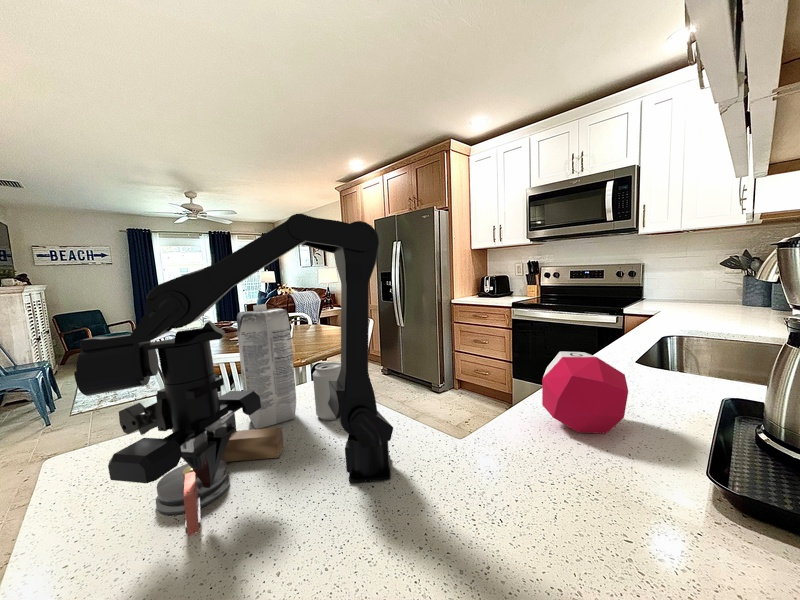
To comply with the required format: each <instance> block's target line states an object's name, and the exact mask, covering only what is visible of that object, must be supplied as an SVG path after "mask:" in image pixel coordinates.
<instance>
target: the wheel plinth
mask: <svg viewBox="0 0 800 600" xmlns="http://www.w3.org/2000/svg"><path fill="white" fill-rule="evenodd" d="M230 484H231V480H230V475H229V472H228V471H227V479H226V481H225V482H224V484H223V485H222V486H221V487H220V488H218V489H217V490H216V491H214V492H213V493H211V494H210V495H208V496H206V497H204V498H202V499H200V500H201V509H203V508H205V507H207V506H209V505H211V504H212V503H214V502H215V501H217V500H218V499H220V498H221V497H222V496H223V495H224V494H225V493H226V492H227V490H228V489H229V488H230ZM155 508H156V511H157V512H158V513H159V514H160V515H163V516H166V517H167V516H168V517H169V516H171V517H173V516H176V517H177V516H181V515H186V514H185V506H184V505H179V506H165V505H162V504H161V503H159V501H158V495H157V496H156V498H155Z"/></svg>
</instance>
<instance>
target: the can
mask: <svg viewBox="0 0 800 600" xmlns="http://www.w3.org/2000/svg"><path fill="white" fill-rule="evenodd" d="M314 369H315V370H314V371H313V373H312V381H313V392H314V403H315V404H314V405H315V414H316V416H317V417H319V419H321V420H323V421H334V420H337V419H336V417H335V415H334V414H333V412H332V410H331V408H330V407H329V405H328V402H329V399H330V389H329V381H337V379H338V376H339V374H340V370H341V361H340V362H339V361H329V362H324V363H319V364H317V365H316V366H315V367H314Z"/></svg>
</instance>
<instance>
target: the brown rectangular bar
mask: <svg viewBox="0 0 800 600" xmlns="http://www.w3.org/2000/svg"><path fill="white" fill-rule="evenodd" d="M283 434H284V433H283V426H280V427H279V426H277V427H269V428H268V427H265V428H261V429H256V428H255V429H254V428H253V429H244V430H236V431H234V432H233V433H232V434H231V436H230V438H229V441H228V443H227V446H226V448H225V451H224V453H223V455H222V459H223V461H224V462H225V463H229V462H240V461H249V460H250V461H253V460H260V459H262V460H264V459H274V458H279V456H280V455H281V453H282V452H283V449H284V448H285V443H284V435H283Z"/></svg>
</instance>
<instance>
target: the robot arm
mask: <svg viewBox="0 0 800 600" xmlns="http://www.w3.org/2000/svg"><path fill="white" fill-rule="evenodd" d="M379 245H380V238H379V234H378V231H377V230H375V228H374V227H373V226H372V225H371V224H369V223H368V222H365V221H363V220H362V221H361V220H360V221H359V220H358V221H357V220H356V221H353V222H350V223H348V222H345V221H341V220H334V219H327V218H320V217H314V216H310V215H308V214H304V213H295V214H292V215H291V216H289V217H288V219H286V221H283V222H282V223H281V224H279V225H277V226H275V227H274V228H272V229H270V230H269V231H267V232H266V233H263V234H262V235H260V236H259V237H257V238H256V239H254V240H252V241H250V242H249V243H246V244H245V245H244V246H242V247H240V248H239V249H237V250H236V251H234V252H232V253H231V254H228V255H227V256H224V257H223V258H222V259H221V260H219V261H217V262H216V263H214V264H211V265H208V266H206V267H204V268H203V267H202V268H201V269H198V270H194V271H191V272H189V273H185V274H183V275H181V276H177V277H175V278H172V279H170V280H167V281H165V282H161V283H160V284H158V285H155V286H154V287H152V289H150V290H149V292H148V293H147V294H146V296H145V297H146V298H145V303H144V307H145V313H144V314H143V316H142V318H141V319H140V321H139V322H138V324H137V325H136V327H134V330H133V331H132V332H131V333H129V334H128V333H127V334H124V335H122V334H121V335H116V336H115V335H114V336H95V337H88V338H86V339H82V340H81V341H80V342H79V345H80V352H79V354H78V356H77V359H76V370H75V371H74V373H73V376H74V379H75V383H76V387H77V388H78V390H79V392H80V393H81V394H82V395H84V396H85V397H90V396H91V397H92V396H94V395H95V396H96V395H100V394H107V393H111V392H117V391H123V390H128V389H134V388H138V387H143V386H147V385H149V383H150V381H151V380H150V379H151V377H154V376H157V374H158V372H159V366H160V370H161V375H162V381H163V387H164V388H162V389H159V390H156V394H155V395H156V396H155V397H156V402H154V403H152V404H150V405H147V406H144V405H143V404H142V403H141V402H138V403H135V404H133V405H129V406H127V407H125V408H124V409H121V410H118V419H119V424H120V427H121V429H122V431H123V433H125V434H126V435H130V434H133V433H135V432H137V431H138V432H139V433H140V435H141V436H143V435H145V434H147V433H148V432H149V431H150V430H153V429H155V428H157V430H158V432H167V431H169V430H171V431H172V433H171V434H169V435H167V436H165V437H164V438H157V437H156V438H155V437H142V438H140V439H139V440H137V441H135V442H133V443H131V444H130V445H127V446H126V447H124V448H122V449H120V450H118V451H117V452H114V453H113V455H112V456H111V457H110V459H109V461H108V465H107V467H108V473H109V478H110V481H118V482H125V483H126V482H127V483H129V482H130V483H139V484H149V483H152V482H155V481H157V480H158V479H159V480H160V479H161V478H163V477H164V476H165V475H166V474H168V473H169V472H171V471H172V470H174V469H176V468H177V466H178V465H179V463H180V460H181V459H183V460H184V461H185V463H186V464H189V466H190V467H191V468H192V470H193V471H194V472H195V474H196V475H197V476H198V478H199V479H200V480H201V482H202V485H203V487H204V488H210V487H211V486H212V485H213V482H214V478H215V475H216V472H217V470H218V467H219V464H220V461H221V458H222V455H223V453H224V451H225V448H226V446H227V443H228V441H229V438H230V436H231V434H232V433H233V432H234V431H235V428H234V427H226V423H224V419H225V418H226V417H228V416H229V415H231V414H233V413H236V412H238V411H239V410H240V409H242V413H243V414H245V416H249V415H251V414H253V413H254V412H256V411H257V410H258V409H260V408H261V403H260V396H259V395H258V394H257V393H255V392H254V391H243V390H229V391H228V392H226V393H223V394H222V395H220V396H219V391H218V388H220V387H222V386H224V385H225V382H224V377H216V372H215V365H214V362H213V361H214V360H213V354H212V349H211V347H212V346H211V342H213V341H218V340H221V339H223V337H224V336H225V334H226V332H225V330H224V329H221V327H219V326H216V325H215V324H214V323H213V322H212V321H211V320H208V321H207V322H205V323H204V325H203V327H201V328H200V327H199V328H192V329H184V330H178V331H176V333H175V337H174V338H169V339H165V340H164V339H163V340H158V341H153V340H155V339H157V338H159V337H161V336H163V335H165V334H168V333H169V332H170V331H172V330H173V329H175V330H176V329H180V328H181V329H182V328H183V327H185V326H187V325H190V324H192V323H194V322H196V321H197V320H199V319H200V318H202V317H203V315H205V313H207V312H208V311H210V309H212V307H214V306H215V305H216V304H217V303H218V302H219V301H220V300H221V299H222V298H223V297H224V296H225V295H226V294H227V293H229V292H230V290H232V289H233V288H234V287H236V286H237V285H238V284H240V283H241V282H243V281H245V280H247V279H249V277H252V275H254V274H256V273H258V272H259V271H261V270H262V269H265V268H266V267H267V266H269V265H270V264H272V263H273V262H275V261H277V260H279V258H281V257H283V256H284V255H287V253H289V252H291V251H292V250H294V249H295V248H297V247H299V246H306V247H308V248H309V247H310V248H312V249H315V250H318V251H322V252H326V253H330V254H333V256H334V261H335V267H336V270H337V273H338V275H339V276H338V277H339V280H340V301H341V303H340V317H341V318H340V363H341V370H340V374H339V376H338V379H337V381H329V389H330V399H329V402H328V405H329V407H330V408H331V410H332V412H333V414H334V415H335V417H336V419H335V420H337V422H339V424H340V426H341V428H342V430H343V431H344V432H345V433H346V434H348V436H347V440H346V442H345V446H344V453H345V455H344V456H345V466H346V473H347V474H348V473H349V475H348V482H349V483H350V484H354V483H364V482H367V483H368V482H377V481H385V480H386V481H387V480H390V479H392V477H391V476H392V473H391V471H392V470H391V469H392V467H391V455H390V447H389V442H390V441H391V439H392V437H393V432H394V427H393V425H392V424H391V423H390V422H389V421H388V420H387V419H386V418H385V417H384V416H383V415H382V414H381V413H380V412H379V411H378V407H377V400H376V395H375V391H374V387H373V384H372V381H371V378H370V375H369V374H370V373H369V329H370V328H369V325H370V324H369V319H370V317H369V311H370V308H369V307H370V305H369V302H370V297H369V296H370V280H371V279H372V278H371V277H372V276H373V272H374V270H375V266H376V263H377V257H378V252H379ZM157 352H158V353H157ZM159 364H160V365H159Z"/></svg>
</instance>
